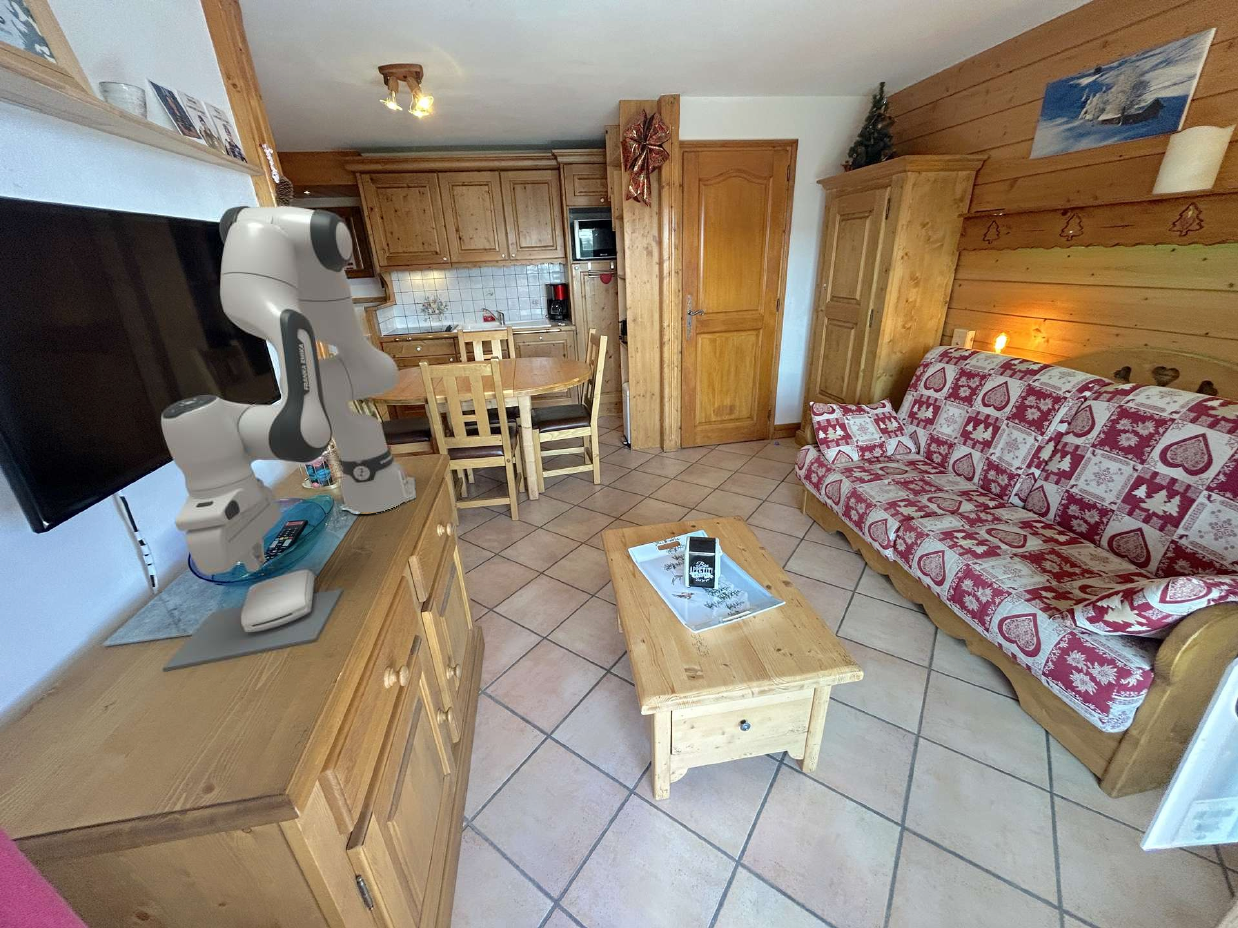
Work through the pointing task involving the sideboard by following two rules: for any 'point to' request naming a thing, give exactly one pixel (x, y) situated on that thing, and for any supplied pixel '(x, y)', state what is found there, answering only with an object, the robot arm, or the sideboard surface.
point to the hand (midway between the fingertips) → (257, 566)
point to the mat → (251, 634)
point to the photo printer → (278, 601)
